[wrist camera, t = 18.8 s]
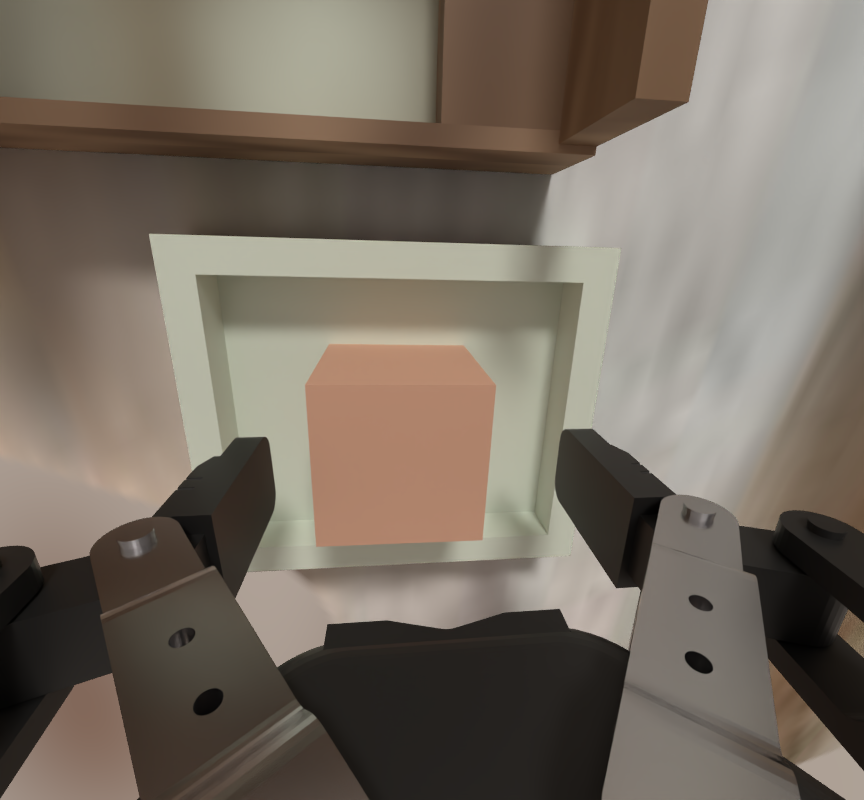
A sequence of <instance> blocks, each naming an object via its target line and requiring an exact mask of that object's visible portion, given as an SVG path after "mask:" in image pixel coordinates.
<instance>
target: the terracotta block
mask: <svg viewBox="0 0 864 800" xmlns="http://www.w3.org/2000/svg"><path fill="white" fill-rule="evenodd" d="M305 393H306V407H307V422H308V436H309V451H310V465H311V480H312V494H313V509H314V523H315V537H316V547H325V546H350V545H376V544H401V543H426V542H452V541H477V540H483V529H484V518H485V507H486V495H487V484H488V473H489V461H490V450H491V438H492V427H493V416H494V404H495V393H496V384H495V383H494V382H493V381H492V379H491V378H490V377H489V376H488V375H487V373H486V372H485V371H484V370H483V368H482V367H481V366H480V365H479V363H478V362H477V361H476V360H475V359H474V357H473V356H472V355H471V354H470V352H469V351H468V350H467V349H466V347H465V346H464V345H384V344H329V345H328V347H327V348H326V350H325V352H324V354H323V355H322V357H321V359H320V360H319V362H318V364H317V365H316V367H315V369H314V371H313V372H312V374H311V376H310V377H309V379H308V381H307V382H306V384H305Z"/></svg>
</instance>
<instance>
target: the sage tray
mask: <svg viewBox="0 0 864 800" xmlns="http://www.w3.org/2000/svg"><path fill="white" fill-rule="evenodd" d="M149 238H150V244H151V249H152V255H153V260H154V266H155V271H156V277H157V282H158V287H159V293H160V298H161V304H162V309H163V315H164V320H165V326H166V331H167V337H168V342H169V348H170V353H171V359H172V364H173V370H174V375H175V381H176V386H177V392H178V397H179V403H180V408H181V413H182V419H183V424H184V430H185V435H186V441H187V446H188V452H189V457H190V463H191V468H192V471H193V470H194V469H195V468H196V467H197V466H198V465H200V464H202V463H203V462H205V461H207V460H208V459H210V458H212V457H214V456H221V454H222V453H223V452H224V451H225V450H226V448H227V447H228V446H229V445H230V443H231V442H232V441H233V440H234V439H235V438H236V437H267V439H268V441H269V444H270V451H271V458H272V466H273V474H274V481H275V490H276V500H275V508H274V512H273V514H272V516H271V519H270V521H269V523H268V526H267V528H266V530H265V532H264V535H263V537H262V539H261V541H260V544H259V546H258V548H257V550H256V553H255V555H254V557H253V559H252V562H251V564H250V566H249V568H248V571H247V572H258V571H277V570H299V569H319V568H339V567H358V566H378V565H398V564H418V563H438V562H458V561H478V560H498V559H518V558H538V557H558V556H570V555H571V549H572V543H573V537H574V531H575V525H574V524H573V522H572V520H571V519H570V517H569V516H568V514H567V513H566V511H565V510H564V508H563V507H562V505H561V504H560V502H559V501H558V498H557V495H556V491H555V474H556V466H557V458H558V450H559V442H560V436H561V433H562V431H563V430H565V429H591V428H592V422H593V416H594V410H595V404H596V398H597V392H598V386H599V380H600V374H601V368H602V362H603V356H604V350H605V344H606V338H607V332H608V326H609V319H610V313H611V307H612V301H613V295H614V289H615V283H616V277H617V271H618V265H619V259H620V253H621V248H601V247H568V246H535V245H503V244H470V243H437V242H404V241H372V240H339V239H306V238H274V237H241V236H208V235H176V234H149ZM329 344H384V345H464V346H465V347H466V349H467V350H468V351H469V352H470V354H471V355H472V356H473V357H474V359H475V360H476V361H477V362H478V363H479V365H480V366H481V367H482V368H483V370H484V371H485V372H486V373H487V375H488V376H489V377H490V378H491V379H492V381H493V382H494V383H495V384H496V393H495V404H494V416H493V427H492V438H491V450H490V461H489V473H488V484H487V495H486V507H485V518H484V529H483V540H477V541H452V542H426V543H401V544H376V545H350V546H325V547H316V537H315V523H314V509H313V494H312V480H311V465H310V451H309V436H308V422H307V407H306V393H305V384H306V382H307V381H308V379H309V377H310V376H311V374H312V372H313V371H314V369H315V367H316V365H317V364H318V362H319V360H320V359H321V357H322V355H323V354H324V352H325V350H326V348H327V347H328V345H329Z"/></svg>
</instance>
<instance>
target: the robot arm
mask: <svg viewBox="0 0 864 800" xmlns="http://www.w3.org/2000/svg"><path fill="white" fill-rule="evenodd" d="M555 491H556V495H557V498H558V501H559V502H560V504H561V505H562V507H563V508H564V510H565V511H566V513H567V514H568V516H569V517H570V519H571V520H572V522H573V524H574V525H575V527H576V528H577V530H578V531H579V533H580V534H581V536H582V537H583V539H584V540H585V542H586V543H587V545H588V546H589V548H590V549H591V551H592V552H593V554H594V555H595V557H596V558H597V560H598V561H599V563H600V564H601V566H602V567H603V569H604V570H605V572H606V573H607V575H608V576H609V578H610V579H611V581H612V582H613V584H614V585H615V587H616V588H627V587H639V589H640V590H641V592H640V596H639V601H638V605H637V610H636V615H635V619H634V624H633V629H632V633H631V638H630V643H629V648H628V650H626V649H625V648H623V647H621V646H619V645H617V644H615V643H613V642H611V641H609V640H606V639H604V638H602V637H599V636H596V635H593V634H591V633H587V632H583V631H579V630H576V629H570V628H568V626H567V624H566V621H565V619H564V617H563V615H562V613H561V611H560V609H553V610H538V611H523V612H508V613H502V614H499V615H496V616H492V617H489V618H486V619H483V620H480V621H476V622H473V623H470V624H467V625H463V626H460V627H457V628H453V629H438V628H432V627H425V626H419V625H413V624H406V623H400V622H393V621H372V622H357V623H342V624H328V625H327V631H326V637H325V642H324V645H323V646H320V647H317V648H314V649H311V650H309V651H306V652H304V653H302V654H300V655H298V656H296V657H294V658H292V659H290V660H288V661H287V662H285V663H283V664H282V665H280V666H279V667H276V665H275V663H274V662H273V660H272V658H271V657H270V655H269V654H268V652H267V650H266V649H265V647H264V645H263V644H262V642H261V641H260V639H259V637H258V636H257V634H256V632H255V631H254V629H253V627H252V626H251V624H250V622H249V621H248V619H247V617H246V616H245V614H244V613H243V611H242V609H241V608H240V606H239V604H238V603H237V601H236V600H235V598H236V595H237V593H238V591H239V589H240V587H241V584H242V582H243V580H244V577H245V575H246V573H247V571H248V568H249V566H250V564H251V562H252V559H253V557H254V555H255V553H256V550H257V548H258V546H259V544H260V541H261V539H262V537H263V535H264V532H265V530H266V528H267V526H268V523H269V521H270V519H271V516H272V514H273V512H274V508H275V500H276V490H275V481H274V474H273V466H272V458H271V451H270V444H269V441H268V439H267V437H236V438H235V439H234V440H233V441H232V442H231V443H230V445H229V446H228V447H227V448H226V450H225V451H224V452H223V453H222V454H221V456H214V457H212V458H210V459H208V460H207V461H205V462H203V463H202V464H200V465H198V466H197V467H196V468H195V469H194V470H193V471H192V472H191V473H190V474H189V476H188V477H187V478H186V480H184V481H183V482H182V484H181V485H180V486H179V487H178V490H175V491H174V493H173V494H172V495H171V496H170V497H169V498H168V499H167V500H166V502H165V503H164V504H163V505H162V506H161V507H160V508H159V510H158V511H157V512H156V513H155V514H154V515H153V516H152V517H150V518H143V519H139V520H136V521H132V522H129V523H127V524H124V525H121V526H119V527H117V528H115V529H113V530H111V531H110V532H108V533H106V534H105V535H103V536H102V537H101V538H100V539H99V540H98V541H97V542H96V543H95V544H94V545H93V547H92V548H91V550H90V556H87V557H83V558H79V559H75V560H70V561H65V562H61V563H57V564H52V565H48V566H44V567H40V566H39V563H38V561H37V558H36V556H35V553H34V551H33V550H32V549H30V548H29V547H25V546H7V547H0V798H1V796H2V795H3V794H4V792H5V790H6V789H7V787H8V786H9V784H10V783H11V781H12V780H13V778H14V777H15V775H16V774H17V772H18V771H19V769H20V768H21V766H22V765H23V763H24V761H25V760H26V759H27V757H28V756H29V754H30V752H31V751H32V749H33V748H34V746H35V745H36V743H37V742H38V740H39V739H40V737H41V736H42V734H43V733H44V731H45V729H46V728H47V727H48V725H49V724H50V722H51V721H52V719H53V717H54V716H55V714H56V713H57V711H58V710H59V708H60V707H61V705H62V704H63V702H64V701H65V699H66V698H67V696H68V695H69V693H70V692H71V690H72V688H73V687H74V685H76V684H79V683H82V682H85V681H88V680H91V679H94V678H97V677H101V676H104V675H107V674H110V673H113V678H114V682H115V686H116V691H117V695H118V700H119V705H120V710H121V714H122V719H123V723H124V728H125V732H126V737H127V741H128V745H129V750H130V755H131V760H132V764H133V768H134V773H135V778H136V783H137V787H138V792H139V796H140V797H139V798H138V799H137V800H845V799H844V798H842V797H841V796H839V795H838V794H837V793H835V792H834V791H832V790H831V789H829V788H828V787H826V786H825V785H823V784H822V783H821V782H819V781H818V780H816V779H815V778H813V777H812V776H811V775H809V774H807V773H806V772H805V771H803V770H802V769H800V768H799V767H797V766H796V765H795V764H793V763H792V762H790V761H789V760H787V759H786V758H784V757H783V756H782V753H781V749H780V743H779V736H778V729H777V721H776V714H775V706H774V699H773V692H772V684H771V677H770V670H769V662H768V659H769V660H770V661H771V662H772V664H773V665H774V666H775V667H776V668H777V670H778V671H779V672H780V673H781V674H782V675H783V677H784V678H785V679H786V680H787V681H788V682H789V684H790V685H791V686H792V687H793V688H794V689H795V691H796V692H797V693H798V694H799V695H800V697H801V698H802V699H803V700H804V701H805V702H806V704H807V705H808V706H809V707H810V708H811V709H812V711H813V712H814V713H815V714H816V715H817V716H818V718H819V719H820V720H821V721H822V722H823V724H824V725H825V726H826V727H827V728H828V729H829V731H830V732H831V733H832V734H833V735H834V736H835V738H836V739H837V740H838V741H839V742H840V743H841V745H842V746H843V747H844V748H845V749H846V751H847V752H848V753H849V754H850V755H851V756H852V757H853V759H854V760H855V761H856V762H857V763H858V765H859V766H860V767H861V768H862V769H863V770H864V658H863V657H862V656H861V655H860V654H859V653H857V652H856V651H855V650H854V649H853V648H852V647H851V646H850V645H849V644H848V643H847V642H846V641H844V640H843V639H842V638H841V637H840V636H839V635H838V634H837V633H838V631H839V629H840V626H841V624H842V622H843V620H844V617H845V615H846V613H847V611H848V609H849V610H850V611H851V612H852V613H853V614H855V615H856V616H857V617H858V618H859V619H860V620H862V621H863V622H864V534H863V533H862V532H860V531H859V530H857V529H855V528H853V527H852V526H850V525H848V524H846V523H843V522H841V521H839V520H836V519H833V518H831V517H828V516H825V515H821V514H817V513H813V512H808V511H797V510H794V511H786V512H784V513H782V514H781V515H780V518H779V521H778V524H777V526H776V529H775V531H771V530H765V529H758V528H751V527H744V526H739V524H738V521H737V519H736V517H735V516H734V515H733V514H732V513H730V512H729V511H728V510H726V509H725V508H723V507H722V506H720V505H718V504H716V503H713V502H711V501H708V500H706V499H702V498H699V497H695V496H689V495H676V494H675V493H674V492H673V491H672V490H670V489H669V488H668V487H667V486H666V485H665V484H663V483H662V482H661V481H660V480H659V479H658V478H657V477H655V476H654V475H653V474H652V473H649V471H648V470H647V469H646V468H645V467H644V466H643V465H640V463H639V462H638V461H637V460H636V459H635V458H633V457H632V456H631V455H630V454H629V453H627V452H625V451H623V450H621V449H619V448H617V447H615V446H613V445H610V444H609V443H608V442H607V441H605V440H604V439H603V438H602V437H601V436H600V435H599V434H598V433H597V432H595V431H594V430H593V429H565V430H563V431H562V433H561V436H560V442H559V450H558V458H557V466H556V474H555Z"/></svg>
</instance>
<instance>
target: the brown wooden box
mask: <svg viewBox="0 0 864 800" xmlns="http://www.w3.org/2000/svg"><path fill="white" fill-rule="evenodd" d="M707 4H708V0H0V147H3V148H24V149H44V150H64V151H85V152H105V153H125V154H146V155H166V156H186V157H207V158H227V159H247V160H268V161H288V162H308V163H329V164H349V165H369V166H390V167H410V168H430V169H451V170H471V171H491V172H512V173H532V174H554V173H557V172H559V171H561V170H563V169H566V168H568V167H570V166H572V165H575V164H577V163H579V162H581V161H584V160H586V159H588V158H590V157H593V156H595V154H596V146H598V145H600V144H603V143H605V142H607V141H609V140H611V139H613V138H615V137H617V136H619V135H621V134H623V133H625V132H627V131H629V130H631V129H634V128H636V127H638V126H640V125H642V124H644V123H646V122H648V121H650V120H652V119H654V118H656V117H658V116H660V115H662V114H664V113H667V112H669V111H671V110H673V109H675V108H677V107H679V106H681V105H683V104H685V103H687V102H689V96H690V91H691V86H692V81H693V76H694V71H695V66H696V60H697V55H698V50H699V45H700V40H701V35H702V30H703V24H704V19H705V14H706V9H707Z"/></svg>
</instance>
